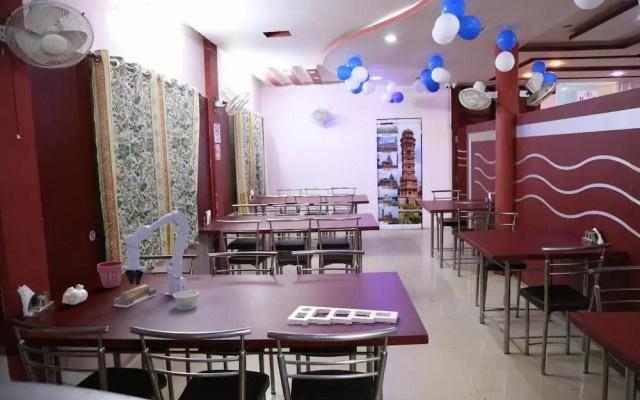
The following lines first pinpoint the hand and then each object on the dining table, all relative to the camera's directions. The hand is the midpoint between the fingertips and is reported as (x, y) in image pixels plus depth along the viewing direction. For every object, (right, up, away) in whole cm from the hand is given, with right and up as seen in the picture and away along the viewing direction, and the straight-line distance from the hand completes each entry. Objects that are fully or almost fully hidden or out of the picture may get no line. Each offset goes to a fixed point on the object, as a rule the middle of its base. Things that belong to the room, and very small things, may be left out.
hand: (134, 284), depth 240 cm
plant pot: (-25, -7, +31) cm, 41 cm away
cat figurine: (-30, -10, -1) cm, 31 cm away
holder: (+104, -10, -37) cm, 111 cm away
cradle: (0, -8, +1) cm, 8 cm away
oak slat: (0, -7, +1) cm, 7 cm away
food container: (+30, -9, -12) cm, 33 cm away
